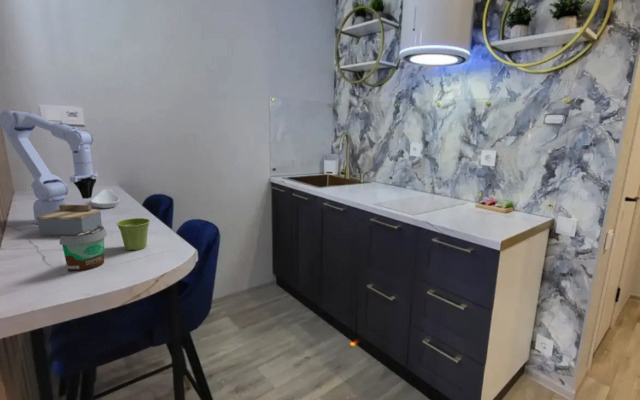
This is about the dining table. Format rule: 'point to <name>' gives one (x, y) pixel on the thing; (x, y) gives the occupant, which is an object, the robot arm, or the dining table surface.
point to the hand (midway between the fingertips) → (87, 198)
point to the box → (68, 225)
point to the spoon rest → (105, 199)
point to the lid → (71, 212)
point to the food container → (84, 249)
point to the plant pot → (134, 233)
